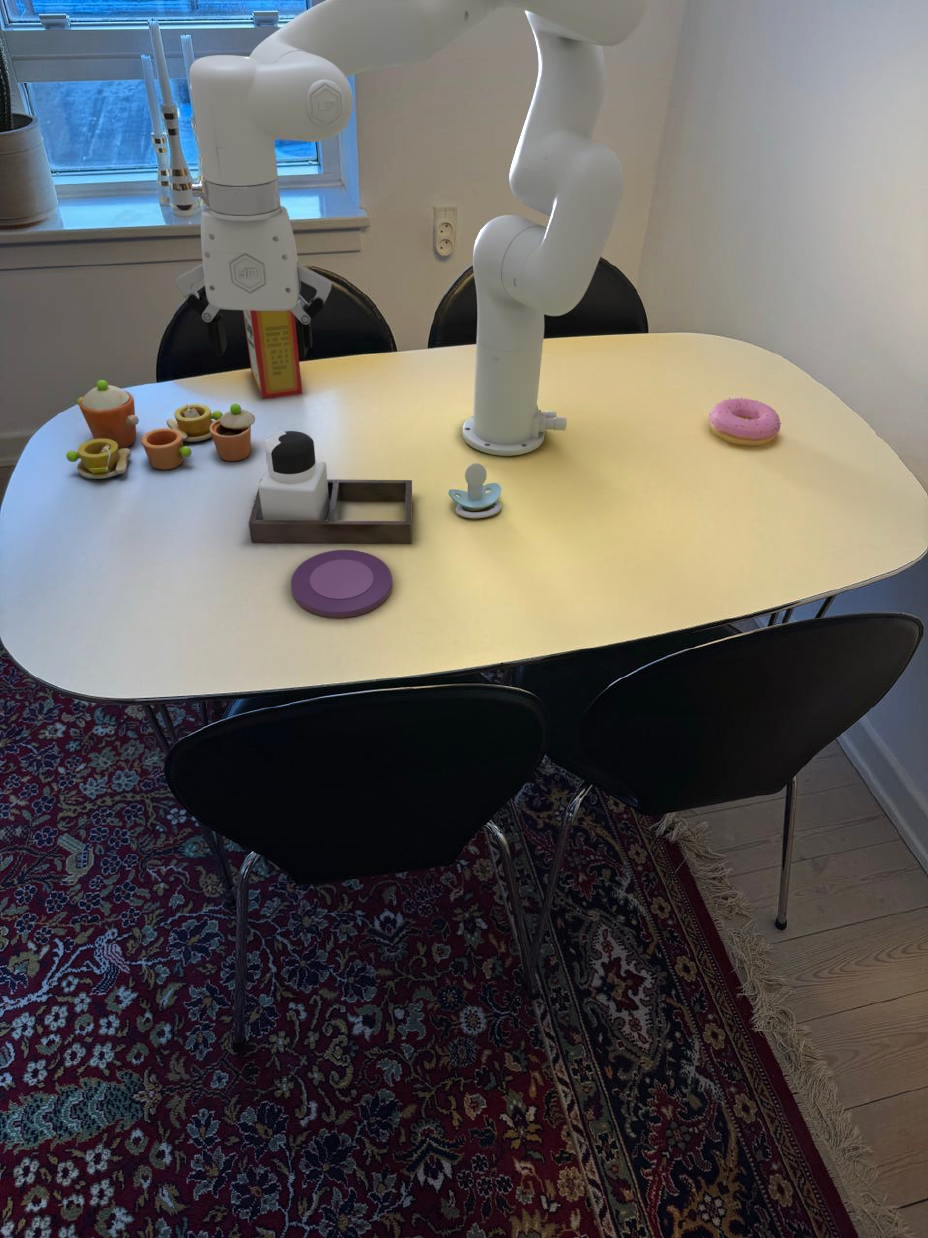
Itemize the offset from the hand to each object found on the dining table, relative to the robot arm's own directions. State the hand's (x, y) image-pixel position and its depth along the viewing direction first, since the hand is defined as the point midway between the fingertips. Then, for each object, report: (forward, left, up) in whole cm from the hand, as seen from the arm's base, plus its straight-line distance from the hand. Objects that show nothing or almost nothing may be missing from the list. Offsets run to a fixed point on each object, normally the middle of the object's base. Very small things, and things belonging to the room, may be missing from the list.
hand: (262, 351), depth 101 cm
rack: (-7, +3, -22) cm, 23 cm away
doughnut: (-69, -22, -22) cm, 76 cm away
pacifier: (-26, 0, -22) cm, 34 cm away
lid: (-9, +17, -22) cm, 29 cm away
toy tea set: (+19, -15, -22) cm, 32 cm away
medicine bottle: (-2, +3, -22) cm, 22 cm away
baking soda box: (+6, -37, -22) cm, 43 cm away
